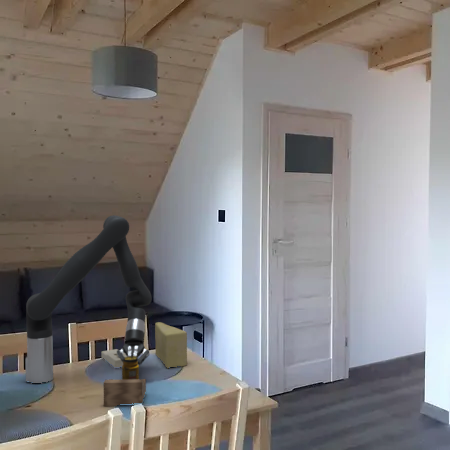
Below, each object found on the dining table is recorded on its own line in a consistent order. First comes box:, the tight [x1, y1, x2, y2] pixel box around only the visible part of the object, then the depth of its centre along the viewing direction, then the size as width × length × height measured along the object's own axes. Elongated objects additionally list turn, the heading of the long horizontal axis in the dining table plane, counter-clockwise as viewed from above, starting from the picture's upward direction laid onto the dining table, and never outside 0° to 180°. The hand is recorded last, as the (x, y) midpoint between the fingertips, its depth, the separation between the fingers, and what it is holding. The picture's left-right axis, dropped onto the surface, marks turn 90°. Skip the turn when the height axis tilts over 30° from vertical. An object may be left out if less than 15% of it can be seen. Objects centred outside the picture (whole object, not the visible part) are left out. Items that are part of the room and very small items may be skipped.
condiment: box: [121, 356, 140, 380], centre depth 186 cm, size 7×8×12 cm
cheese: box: [154, 321, 188, 369], centre depth 222 cm, size 22×10×15 cm, turn 30°
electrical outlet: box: [101, 348, 127, 367], centre depth 220 cm, size 7×4×18 cm
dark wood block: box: [103, 378, 147, 407], centre depth 178 cm, size 13×10×8 cm
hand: (131, 374), depth 190 cm, fingers closed
